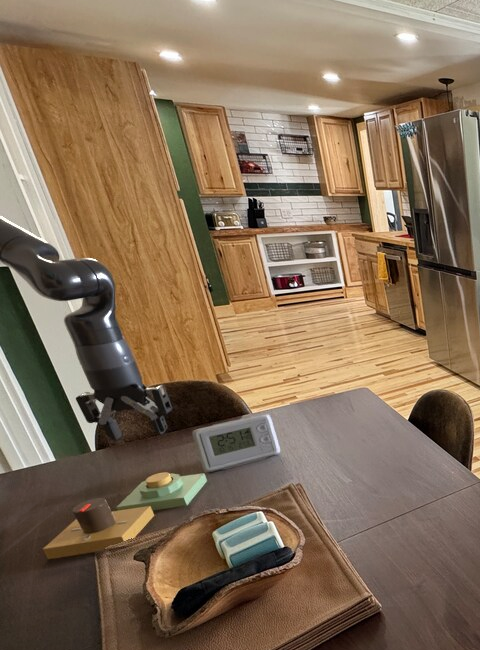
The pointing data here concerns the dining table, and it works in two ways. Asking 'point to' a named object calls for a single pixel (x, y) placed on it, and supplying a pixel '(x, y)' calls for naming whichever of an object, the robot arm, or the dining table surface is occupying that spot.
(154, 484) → the bell button
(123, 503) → the block
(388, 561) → the dining table surface
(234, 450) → the digital clock
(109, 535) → the lock plate
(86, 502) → the lock turn
